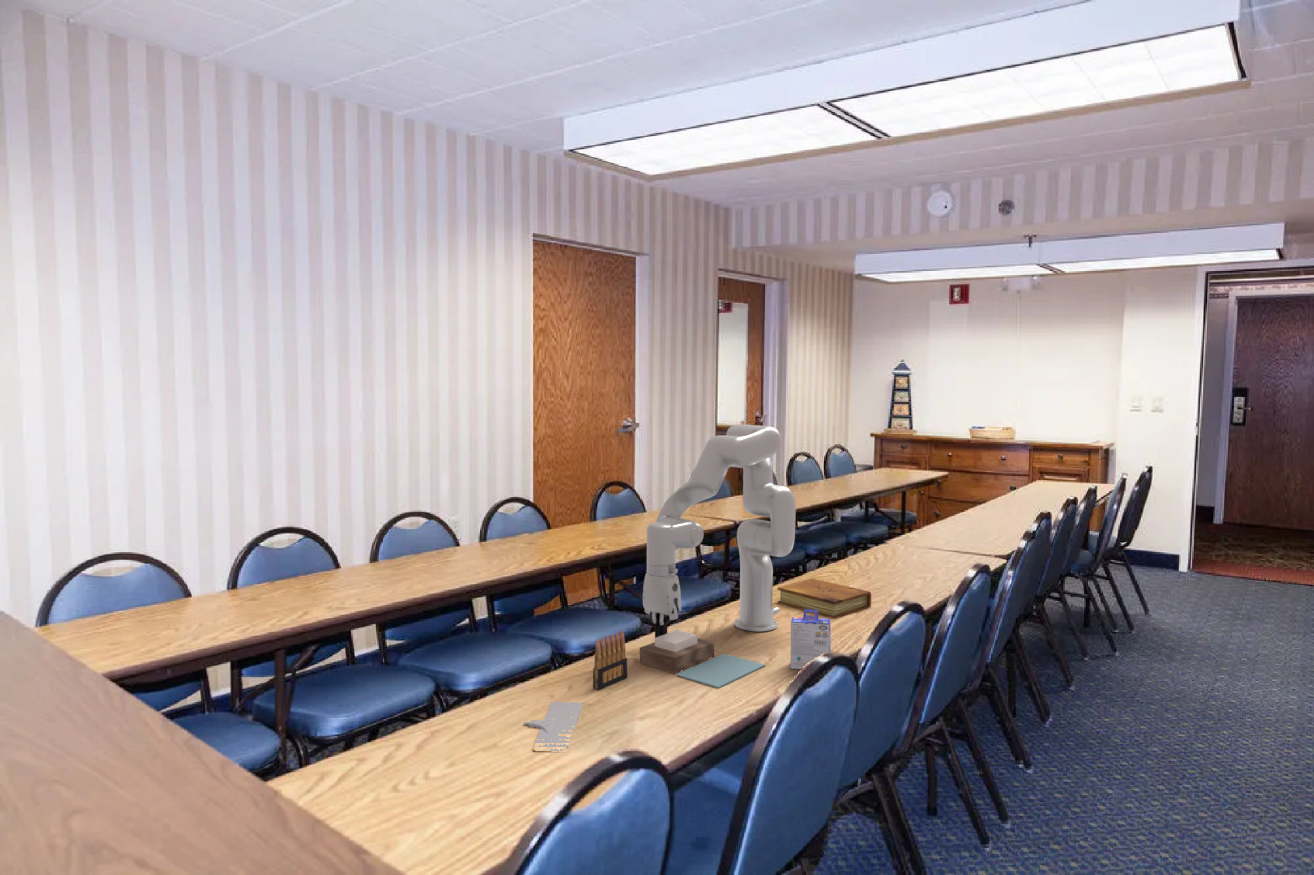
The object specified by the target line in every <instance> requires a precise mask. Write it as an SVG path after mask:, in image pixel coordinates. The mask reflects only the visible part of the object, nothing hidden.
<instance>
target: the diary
mask: <svg viewBox="0 0 1314 875" xmlns="http://www.w3.org/2000/svg"><path fill="white" fill-rule="evenodd" d="M777 591H779V592H780V593H779V594H780V596H779V599H780V600H777V603H778V604H781V605H785V606H789V607H793V608H796V609H800V610H802V611H804V609H811V610H818V615H821V616H825V617H829V618H833V619H837V618H841V617H843V616H847V615H850V614H853V613H856V612H859V611H862V610H866V609H869V608H871V607H872V593H871V591H868V590H864V589H860V588H855V587H852V586H851V587H850V586H846V585H843V584H837V583H834V582H830V581H825V580H821V579H817V578H809V579H808V578H807V579H805V580H801V581H797V582H794V583H790V584H789V583H788V584H786V585H782V586H778V587H777Z"/></svg>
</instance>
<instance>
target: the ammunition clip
mask: <svg viewBox="0 0 1314 875" xmlns="http://www.w3.org/2000/svg"><path fill="white" fill-rule="evenodd" d="M595 642H596V643H595V652H594V667H593V669H592V689H593V690H595V691H601V690H603V689H606V688H607V687H610V686H612V685H615V684H616V683H619V682H621V681H624V680H626V679H628V658H627V657H626V641H625V634H624V630H623V629H621V631H620V634H619V632H618V631H617V632H616V633H615V635H614V633H612V634H611V635H610V636H609V635H607V636H606V639H605V638H604V637H602V638H601V640H599V639H596V641H595Z"/></svg>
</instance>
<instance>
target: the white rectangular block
mask: <svg viewBox="0 0 1314 875" xmlns="http://www.w3.org/2000/svg"><path fill="white" fill-rule="evenodd" d="M698 638H699V637H698V634H695V633H690V632H687V631H683V630H679V629H675V630H673V631H670V632H667V634H664V635H662V636H659V637H656V638H655V637H654V642H655V646H656V647H659V648H663V649H666V650H670V651H673V652H677V651H680V650H682V649H685V648H687V647H690V646H692V645H695V644H697V643H698Z"/></svg>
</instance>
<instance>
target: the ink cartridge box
mask: <svg viewBox="0 0 1314 875" xmlns="http://www.w3.org/2000/svg"><path fill="white" fill-rule="evenodd" d="M808 613H813V614H815V615H811V614H809V615H808ZM831 634H832V633H831V619H830V618H822V617H821V618H819V614H818V610H811V609H804V610H803V617H795V616H793V617H791V621H790V667H789V668H790V669H792V670H793V669H794V670H803V669H802V668H803V666H805V665H806V664H807V663H808V662H810V661H811V660H813V659H814V658H815V657H818V656H820V655H821V654H823V653H827V652H830V653H831V643H832V642H831Z"/></svg>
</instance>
